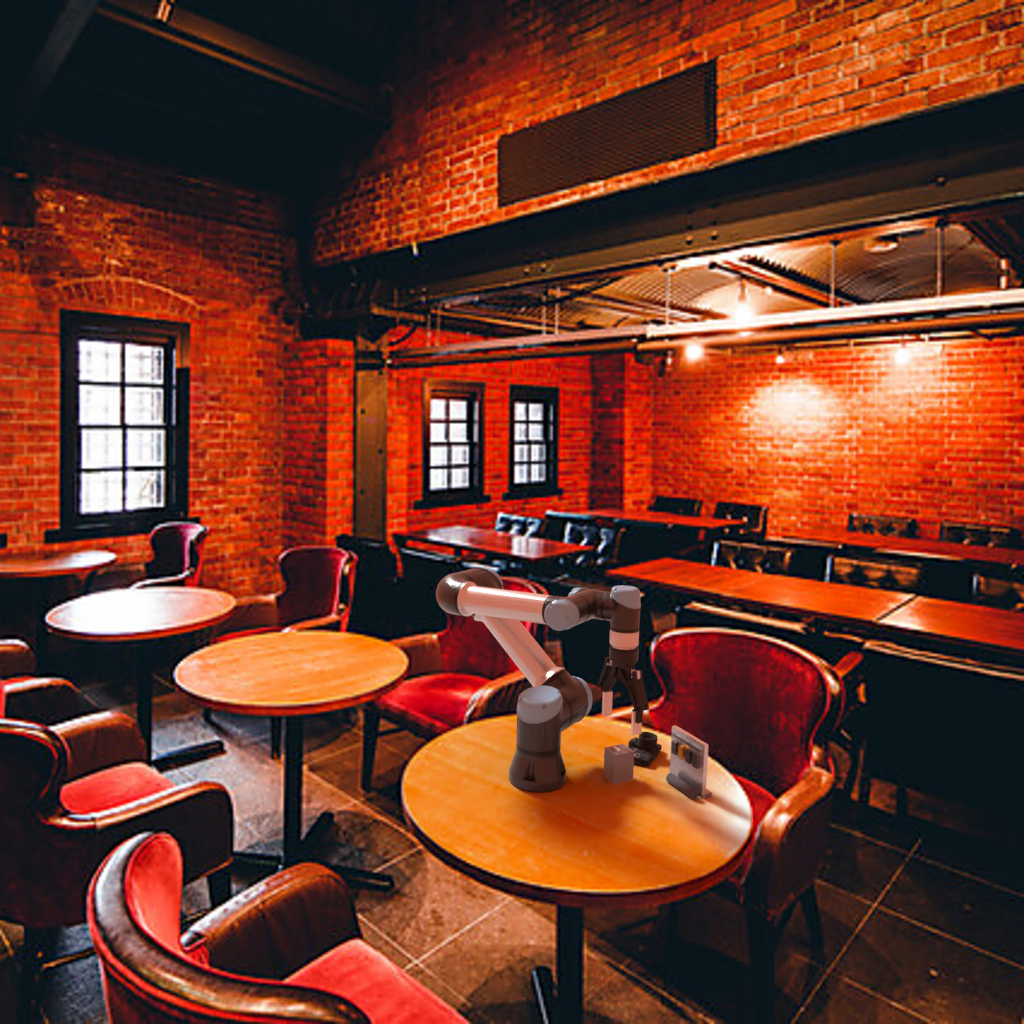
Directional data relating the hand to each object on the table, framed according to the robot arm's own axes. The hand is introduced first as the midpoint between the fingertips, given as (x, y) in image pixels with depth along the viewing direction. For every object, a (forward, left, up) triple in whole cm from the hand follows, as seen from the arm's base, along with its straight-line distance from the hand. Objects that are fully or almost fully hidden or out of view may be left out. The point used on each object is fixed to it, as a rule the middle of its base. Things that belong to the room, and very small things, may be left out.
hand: (621, 724), depth 193 cm
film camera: (+14, +9, -15) cm, 23 cm away
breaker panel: (+14, -11, -15) cm, 23 cm away
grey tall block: (0, 0, -15) cm, 15 cm away
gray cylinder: (+11, -12, -15) cm, 22 cm away
